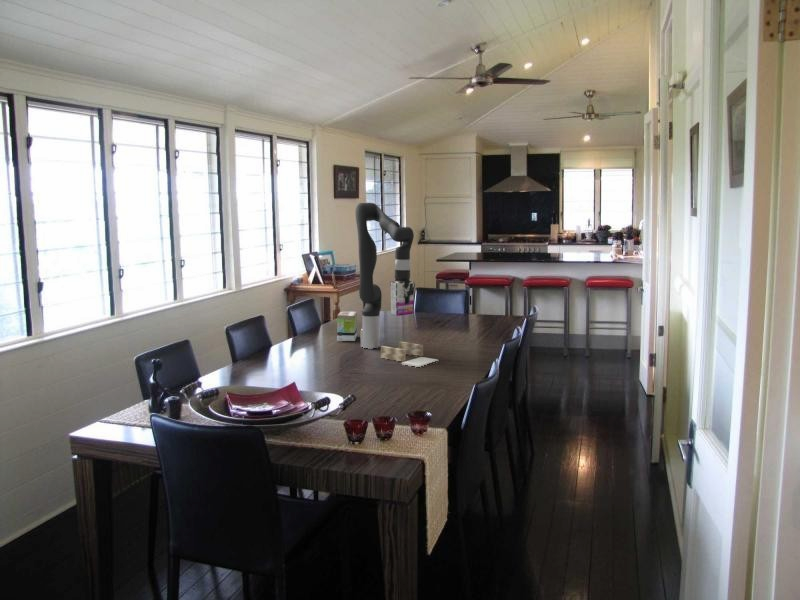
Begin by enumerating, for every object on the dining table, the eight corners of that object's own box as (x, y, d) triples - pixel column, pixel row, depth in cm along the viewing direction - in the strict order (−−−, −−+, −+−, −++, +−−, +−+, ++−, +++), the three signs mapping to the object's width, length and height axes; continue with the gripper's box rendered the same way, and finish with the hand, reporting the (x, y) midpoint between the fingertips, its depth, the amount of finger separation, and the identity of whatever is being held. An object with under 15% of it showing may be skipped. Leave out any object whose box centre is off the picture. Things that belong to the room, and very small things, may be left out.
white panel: (401, 364, 320) (401, 362, 320) (421, 358, 333) (421, 356, 333) (418, 367, 314) (418, 365, 314) (438, 361, 327) (438, 359, 327)
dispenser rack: (380, 358, 334) (380, 346, 333) (400, 352, 346) (400, 341, 345) (403, 362, 325) (404, 350, 324) (423, 356, 337) (423, 345, 336)
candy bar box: (407, 312, 338) (407, 279, 335) (414, 313, 334) (414, 280, 331) (389, 314, 331) (390, 281, 328) (396, 316, 327) (396, 282, 324)
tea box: (355, 342, 373) (354, 315, 371) (336, 341, 373) (336, 315, 371) (357, 336, 388) (357, 310, 385) (339, 336, 388) (339, 310, 386)
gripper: (386, 268, 330) (385, 302, 333) (409, 270, 322) (409, 305, 324) (395, 267, 336) (395, 301, 339) (419, 269, 327) (418, 303, 330)
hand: (402, 303), depth 331 cm, fingers closed on candy bar box, 5 cm apart
